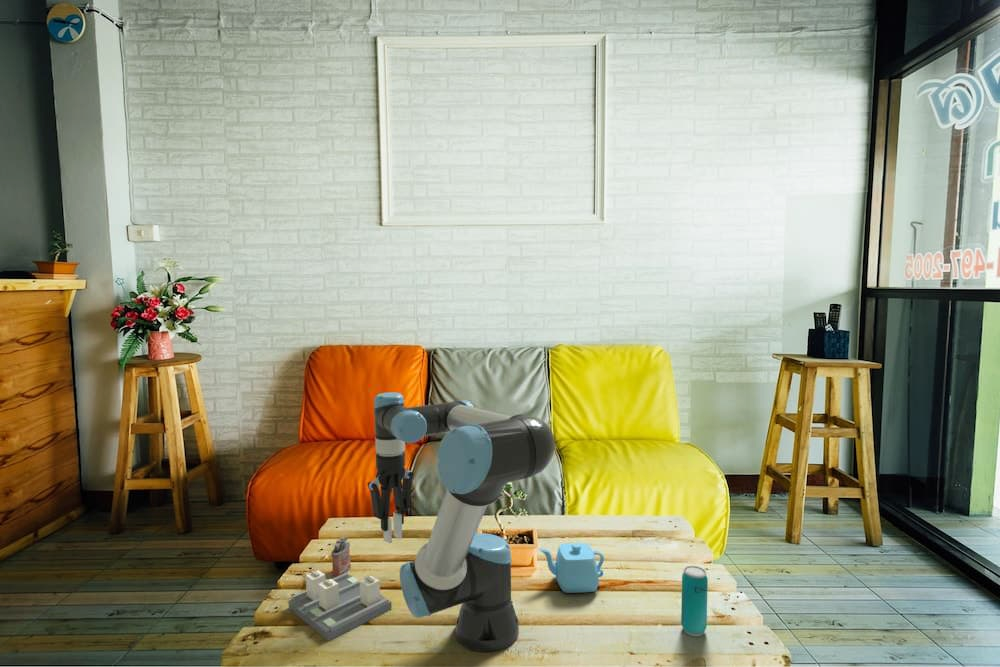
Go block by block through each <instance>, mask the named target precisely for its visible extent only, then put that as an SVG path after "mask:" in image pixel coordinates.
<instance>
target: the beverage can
mask: <svg viewBox="0 0 1000 667" xmlns="http://www.w3.org/2000/svg"><path fill="white" fill-rule="evenodd" d="M708 580H709V579H708V576H707V571H706V569H704V568H702V567H699V566H695V565H689V566H688V565H687V566H685V567H684V568H683V572H682V574H681V612H680V614H681V615H680V616H681V618H680V619H681V620H680V621H681V622H680V624H681V626H682V629H683V631H684V633H685V634H687V635H688V636H690V637H691V636H692V637H695V638H696V637H697V638H698V637H701V636H703V635H704V633H705V632H706V630H707V625H708V623H707V622H708V619H707V618H708Z"/></svg>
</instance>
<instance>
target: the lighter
mask: <svg viewBox="0 0 1000 667" xmlns="http://www.w3.org/2000/svg"><path fill="white" fill-rule="evenodd" d="M350 543H351V542H349V541H348V536H347V535H343V536H342V537H340V539H337V540H336V542H335V544H334V549H333V550H332V552H331V553H330V554H331V561H332V564H331V565H332V575H331V576H332V578H335V577H337V576H340V575H342V574H344V573H347V572H348V571H350V570H351V569H352V568H351V567H352V564H351V558H350V557H351V556H350V547H351V544H350ZM348 573H349V572H348ZM332 578H331V579H332Z"/></svg>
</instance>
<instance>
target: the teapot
mask: <svg viewBox="0 0 1000 667" xmlns="http://www.w3.org/2000/svg"><path fill="white" fill-rule="evenodd" d="M538 550H539V551H540V552H541V553H543V554H544V555H545V558H546V562H547V566H548V569H549V571H550V572H551V574H553V575H554V576H555V578H556V581H557V584H558V586H559V587H560V590H561V591H562V592H563V593H567V594H572V593H573V594H574V593H575V594H576V593H591V592H593V593H594V592H596V591H597V590H598V588H599V578H602V577H603V575H604V570H603V569H602V566H603V563H604V561H605V557H604V554H603V553H602V552H601V551H599V550H593V549H592V547H591V546H590V545H589V543H587V542H570V543H569V542H568V543H565V542H564V543H560V544H559V546H558V549H557V553H556V558H555V561H554V560H553V557H552V553H551V552H550V551H549V550H548V549H546V548H538ZM595 555H598V556H599V557H600V558H599V561H598V564H597V561H596V557H595Z"/></svg>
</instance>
